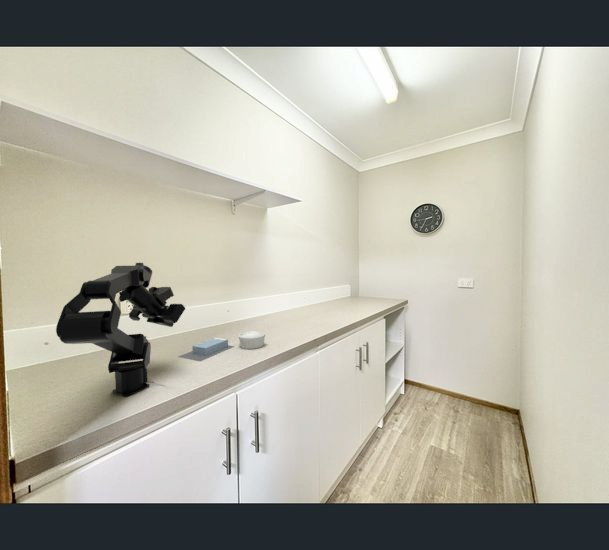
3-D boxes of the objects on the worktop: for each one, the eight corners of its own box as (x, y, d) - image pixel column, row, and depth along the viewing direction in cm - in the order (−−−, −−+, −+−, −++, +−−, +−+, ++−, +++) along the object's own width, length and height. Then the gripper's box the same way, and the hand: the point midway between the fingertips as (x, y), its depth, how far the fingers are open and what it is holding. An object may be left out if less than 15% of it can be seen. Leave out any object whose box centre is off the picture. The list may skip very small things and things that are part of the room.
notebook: (205, 348, 93) (227, 339, 103) (192, 345, 96) (215, 337, 106) (205, 356, 93) (228, 346, 103) (192, 353, 96) (215, 344, 107)
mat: (200, 362, 87) (200, 361, 87) (177, 357, 93) (177, 356, 93) (234, 347, 104) (234, 346, 104) (213, 343, 109) (213, 343, 109)
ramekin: (241, 342, 110) (241, 331, 110) (266, 342, 111) (266, 330, 110) (235, 351, 99) (235, 338, 99) (263, 350, 99) (263, 337, 99)
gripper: (179, 279, 78) (204, 307, 89) (136, 279, 84) (164, 306, 94) (159, 307, 71) (189, 335, 82) (113, 305, 76) (146, 331, 87)
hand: (172, 325), depth 86 cm, fingers closed
